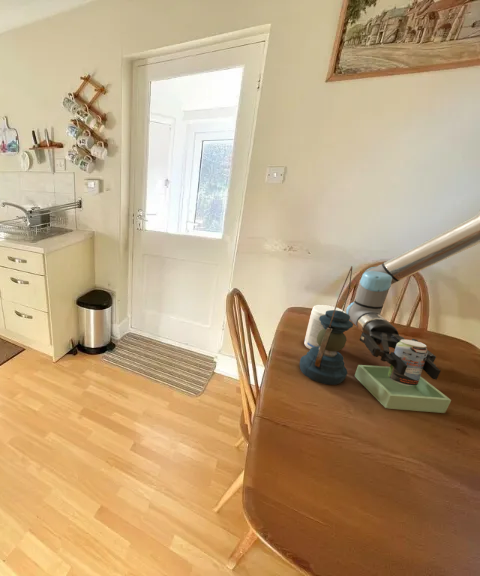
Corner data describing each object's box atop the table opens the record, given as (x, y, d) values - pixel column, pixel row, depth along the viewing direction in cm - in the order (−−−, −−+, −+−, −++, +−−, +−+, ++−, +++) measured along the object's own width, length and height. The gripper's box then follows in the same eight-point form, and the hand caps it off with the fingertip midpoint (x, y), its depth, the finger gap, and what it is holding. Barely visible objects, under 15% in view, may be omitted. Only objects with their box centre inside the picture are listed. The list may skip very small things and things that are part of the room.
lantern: (336, 394, 88) (373, 277, 75) (290, 374, 97) (317, 267, 84) (350, 373, 96) (386, 265, 84) (307, 357, 105) (334, 257, 92)
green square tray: (404, 380, 93) (409, 367, 91) (444, 414, 80) (451, 400, 79) (353, 377, 95) (358, 364, 93) (385, 409, 82) (390, 395, 81)
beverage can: (394, 387, 83) (410, 349, 79) (378, 371, 90) (392, 335, 86) (423, 391, 82) (440, 352, 78) (405, 374, 89) (420, 337, 84)
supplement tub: (342, 356, 105) (354, 317, 100) (312, 355, 106) (323, 316, 101) (325, 341, 114) (335, 304, 109) (298, 340, 115) (307, 304, 110)
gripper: (410, 344, 98) (462, 392, 78) (339, 335, 104) (370, 377, 83) (418, 323, 95) (475, 366, 75) (345, 315, 101) (379, 353, 81)
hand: (419, 372), depth 79 cm, fingers closed on beverage can, 6 cm apart
